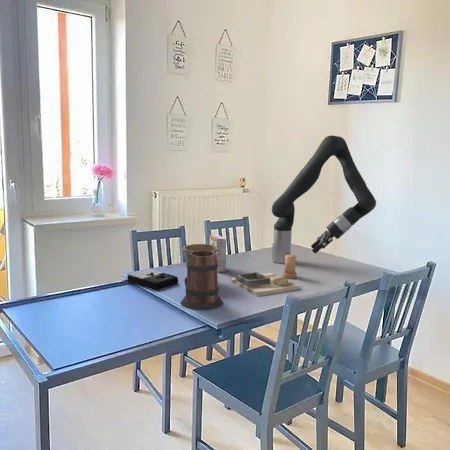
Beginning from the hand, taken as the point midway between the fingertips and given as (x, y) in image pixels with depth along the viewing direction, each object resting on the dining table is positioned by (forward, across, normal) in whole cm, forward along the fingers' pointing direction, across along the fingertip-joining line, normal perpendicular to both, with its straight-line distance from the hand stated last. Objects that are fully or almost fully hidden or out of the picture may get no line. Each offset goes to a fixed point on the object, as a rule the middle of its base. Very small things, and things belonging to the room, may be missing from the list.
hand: (312, 249), depth 216 cm
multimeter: (+60, +20, -40) cm, 75 cm away
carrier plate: (+25, +15, -6) cm, 29 cm away
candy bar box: (+42, -7, -22) cm, 48 cm away
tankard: (+43, +39, -24) cm, 63 cm away
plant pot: (+45, +16, -26) cm, 54 cm away
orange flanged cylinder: (+17, 0, +2) cm, 17 cm away
